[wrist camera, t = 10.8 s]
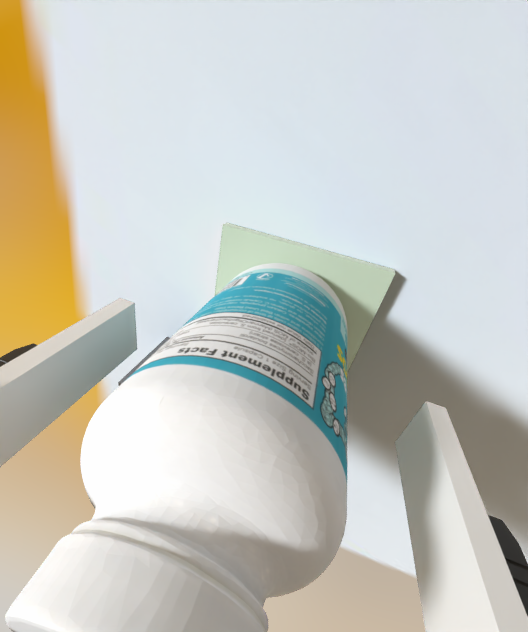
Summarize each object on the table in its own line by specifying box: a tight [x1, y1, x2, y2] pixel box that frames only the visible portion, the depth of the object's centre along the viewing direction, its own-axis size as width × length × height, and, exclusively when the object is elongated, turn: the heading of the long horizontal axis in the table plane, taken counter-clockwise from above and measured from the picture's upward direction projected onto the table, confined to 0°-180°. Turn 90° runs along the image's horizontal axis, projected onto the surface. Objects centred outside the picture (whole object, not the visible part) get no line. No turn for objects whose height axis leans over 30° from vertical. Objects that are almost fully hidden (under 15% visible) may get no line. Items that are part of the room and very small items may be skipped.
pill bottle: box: [5, 263, 347, 632], centre depth 10 cm, size 8×7×14 cm
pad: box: [215, 223, 396, 372], centre depth 16 cm, size 9×9×1 cm
